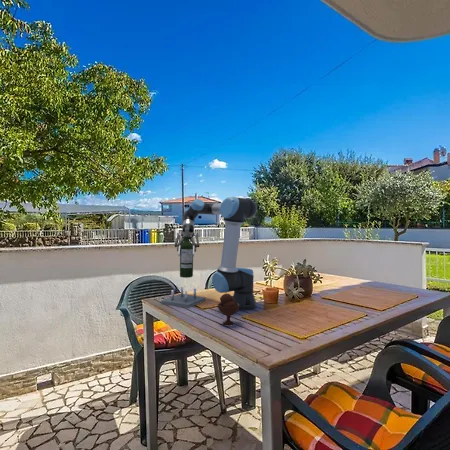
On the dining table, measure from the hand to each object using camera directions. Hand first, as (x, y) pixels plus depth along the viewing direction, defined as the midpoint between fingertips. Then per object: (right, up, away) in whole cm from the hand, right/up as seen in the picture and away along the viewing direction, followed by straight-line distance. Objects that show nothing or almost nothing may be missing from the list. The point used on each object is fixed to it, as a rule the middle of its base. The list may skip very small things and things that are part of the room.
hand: (186, 255), depth 174 cm
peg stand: (-3, -31, +9) cm, 32 cm away
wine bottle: (0, -14, +4) cm, 14 cm away
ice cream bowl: (+25, -31, -32) cm, 51 cm away
